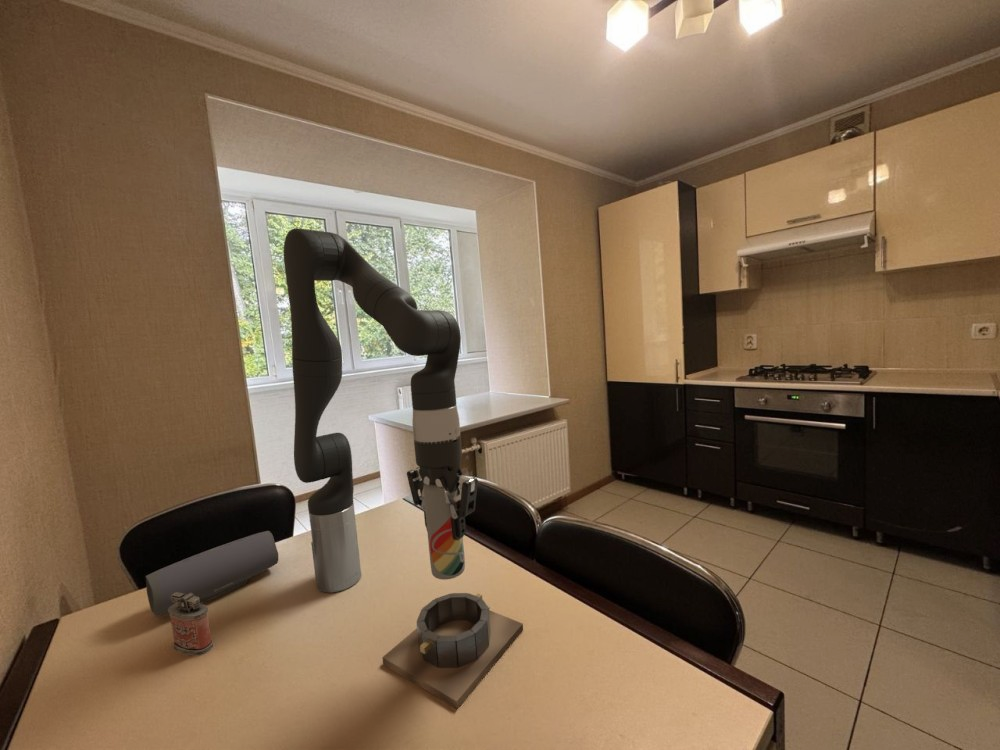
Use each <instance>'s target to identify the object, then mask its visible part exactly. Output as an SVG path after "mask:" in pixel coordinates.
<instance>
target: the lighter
mask: <svg viewBox="0 0 1000 750" xmlns="http://www.w3.org/2000/svg"><path fill="white" fill-rule="evenodd" d="M171 600H172V602H174V603H175V604H173V605H172V606H170V607H169V608H168V615H169V616H170V623H171V630H172V634H173V635H172V636H173V643H172V644H173V649H174V650H175V651H177V652H178V653H181V654H184V655H188V656H199V657H200V656H202V655H205V654H207V653H209V652H210V651H211V650H212V649H213V648H214V643H213V642H214V641H213V640H212V635H211V629H210V623H209V615H208V613H209V607H208V606H207V605H206V604H204V603H200V601H199V597H196V596H194V594H193V593H189V594H187V595H186V594H183V593H178V592H176V593H174V594H172V596H171Z"/></svg>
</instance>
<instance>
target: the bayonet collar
mask: <svg viewBox="0 0 1000 750" xmlns="http://www.w3.org/2000/svg"><path fill="white" fill-rule="evenodd" d="M488 606H489V605H487V604H486V602H485V601H484V599H483V595H482V594H481V593H477V594H476V595H474V594H471V593H468V592H452V593H447V594H445V595H441V596H439V597H436V598H434V599H432V600H431V601H430V602H428V603H427V604H426V605H425V606H424V607H422V608H421V610H420V612H419V615H418V618H417V619H416V628H417V633H418V644H419V649H420V652H421V654H422V657H423V659H424V660H425V661H426V662H428V663H430V664H432V665H434V666H436V667H437V668H438V667H439V668H458V667H462V666H464V665H466V664H469V663H471V662H473V661H476V660H477V659H478V658H479V657H480V656H481V655H482V654H483V653H484V652H485V651H486V649H487V648H488V647H489V643H490V636H491V629H490V616H489V610H490V609H489V608H488ZM460 620H467V621H470V622H472V623H474V624H476V625H475V626H474V627H473V628H472V629H471V630H468V631H466V632H463V633H461V634H458V635H455V636H439V635H437V634H435V633H433V631H434V630H436V629H437V628H438V627H439V626H440V625H443V624H446V623H448V622H451V621H460Z"/></svg>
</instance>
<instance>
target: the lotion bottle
mask: <svg viewBox="0 0 1000 750" xmlns="http://www.w3.org/2000/svg"><path fill="white" fill-rule="evenodd" d="M427 472H428V477H429V480H430V485H429V486H427V485H424V486H423V492H424V503H425V513H426V523H427V529H426V532H427V541H428V543H427V545H428V552H429V560H430V561H429V562H430V564H429V565H430V570H431V575H432V576H433V577H434V578H435V579H438V580H443V581H446V580H452V579H455V578H457V577H459V576H460V575H462V574H463V573H464V571H465V568H466V559H465V549H464V547H465V546H464V539H463V538H464V536H463V537H462V538H460V539H459V540H454V539H453V536H452V525H451V518H452V516H451V513H450V510H449V506H448V505H446V504H445V499H446V498H445V495H444V489H441V488H437V485H436V479H438V478H441V477H442V469H441V468H440V469H427ZM447 489H448V488H447ZM448 492H449V491H448ZM449 495H450V497H451V498H454V497H456V496H457V495H458V488H457V490H456V491H454V492H452V493H450V492H449ZM455 505H456V508H457V509H458V501H457V502H455Z"/></svg>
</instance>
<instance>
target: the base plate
mask: <svg viewBox="0 0 1000 750" xmlns="http://www.w3.org/2000/svg"><path fill="white" fill-rule="evenodd" d="M487 606H488V608H489V616H490V629H491V636H490V643H489V647H488V648H487V649H486V651H485V652H484V653H483V654H482V655H481V656H480V657H479V658H478V659H477V660H476V661H473V662H471V663H469V664H466V665H464V666H462V667H458V668H439V667H438V668H437V667H436V666H434V665H432V664H430V663H428V662H426V661H425V660H424V659H423V657H422V654H421V652H420V649H419V644H418V633H417V627H416V628H415V629H414V630H412V632H410V633H409V634H408V635H407V636H405V637H404V638H403V639H402V640H401V641H400V642H398V643H397V644H396V645H395V646H394V647H393V648H392V649H391V650H389V651H388V652H387V653H386V654H384V655H383V656H382V664H383V666H385V667H388V668H389V669H390V670H391V671H393V672H395V673H397V674H399V675H400V676H402V677H403V678H405V679H406V680H409V681H410V682H412V683H414V684H416V685H417V686H419V687H420V688H422V689H424V690H425V691H427V692H429V693H430V694H432V695H433V696H436V698H438V699H440V700H442V701H444V702H445V703H447V704H448V705H450V706H451V707H453V708H455V709H457V710H458V709H459V707H461V705H462V704H463V703H464V702H465V701H466V699H467V698H468V697H469V696H470V695H471V694H472V692H473V691H474V690H475V689H476V687H477V686H478V685H479V684H480V682H481V681H482V680H483V679H484V678H485V676H486V675H487V674H488V673H489V672H490V670H491V669H493V667H494V665H496V663H497V662H498V661H499V660H500V658H501V657H502V656H503V655H504V653H505V652H507V650H508V649H509V648H510V646H511V645H512V644H513V643H514V642H515V640H516V639H517V638H518V637H519V636H520V634H522V632H523V631H524V624H523V623H522V622H519V621H518V620H515V619H512V618H510V617H508V616H505V615H502V614H499V613H498V612H495V611H492V610H490V609H491V606H489V605H487ZM475 625H476V624H474V623H472V622H470V621H467V620H460V621H451V622H448V623H446V624H443V625H440V626H439V627H438V628H437V629H436V630H434V631H433V633H435V634H437V635H439V636H455V635H458V634H461V633H463V632H466V631H468V630H471V629H472V628H473V627H474V626H475Z"/></svg>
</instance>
